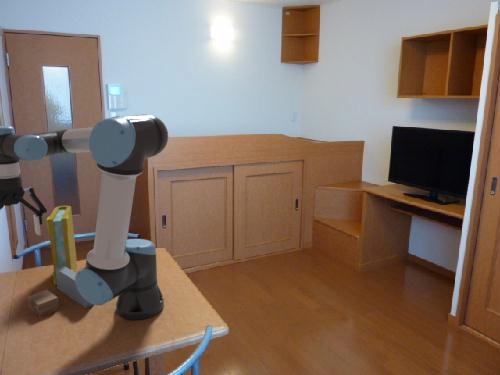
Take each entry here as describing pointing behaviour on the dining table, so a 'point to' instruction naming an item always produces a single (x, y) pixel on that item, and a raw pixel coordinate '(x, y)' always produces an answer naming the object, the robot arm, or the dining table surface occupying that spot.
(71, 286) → the slate board
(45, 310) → the brown rectangular block
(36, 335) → the dining table surface
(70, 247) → the yellow rounded trough
